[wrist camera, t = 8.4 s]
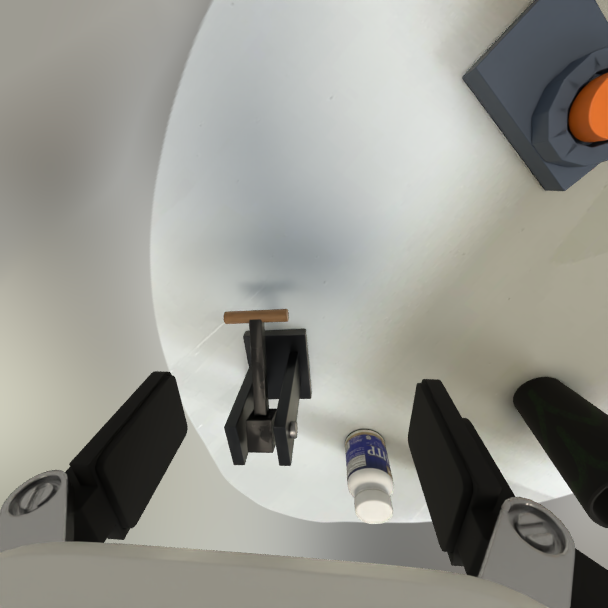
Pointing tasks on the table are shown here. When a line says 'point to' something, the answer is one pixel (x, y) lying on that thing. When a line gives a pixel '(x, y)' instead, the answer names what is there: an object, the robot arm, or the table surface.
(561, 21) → the control block
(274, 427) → the switch bracket
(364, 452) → the pill bottle
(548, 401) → the cup
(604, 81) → the button
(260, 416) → the lever
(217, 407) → the table surface
